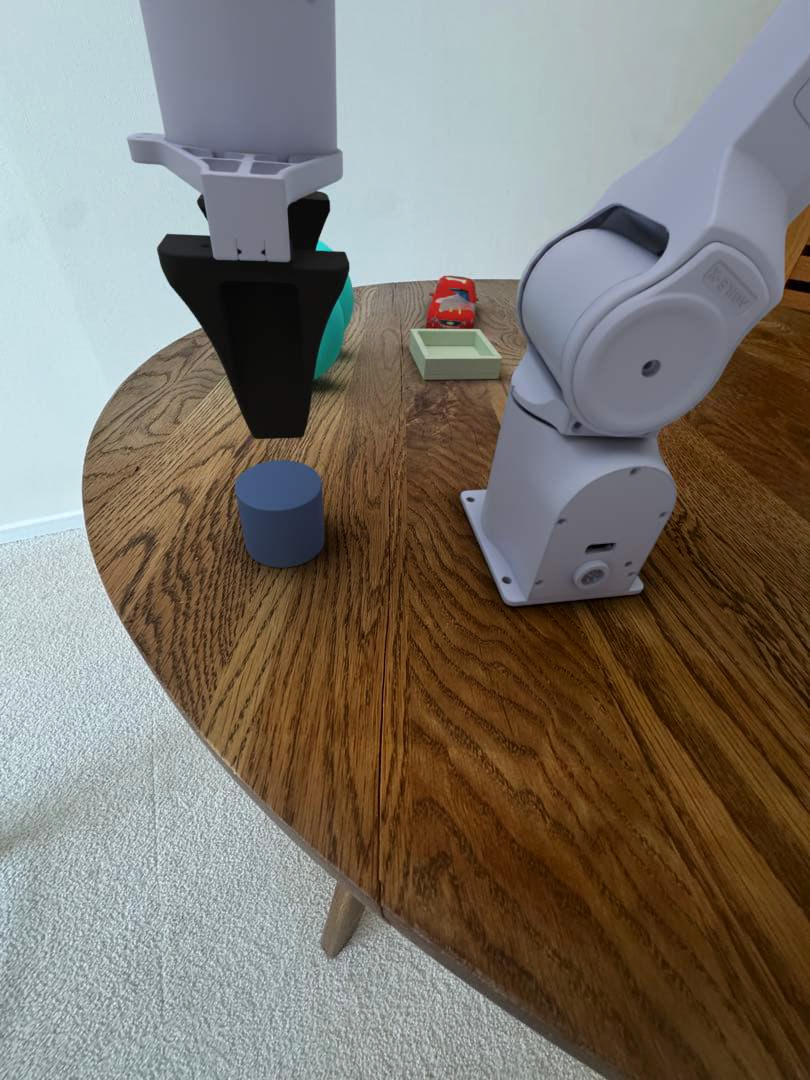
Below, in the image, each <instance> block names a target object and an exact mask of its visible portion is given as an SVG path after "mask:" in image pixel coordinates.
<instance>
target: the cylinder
mask: <svg viewBox="0 0 810 1080" xmlns="http://www.w3.org/2000/svg"><path fill="white" fill-rule="evenodd" d="M234 493H235V499H236V504H237V509H238V515H239V519H240V524H241V529H242V534H243V540H244V544H245V550H246V551H247V554H248V555H249V556H250V557H251V558H252V559H253V560H254V561H255V562H257V563H259V564H260V565H263V566H267V567H269V568H270V567H271V568H279V569H280V568H281V569H283V568H285V569H286V568H293V567H297V566H300V565H303V564H306V563H307V562H310V561H311V560H312V559H314V558H316V556H318V554H320V552H321V551H322V549H323V547H324V545H325V542H326V541H325V540H326V539H325V538H326V537H325V521H324V520H325V516H324V515H325V514H324V497H323V496H324V495H323V494H324V493H323V480H322V478H321V476H320V474H319V473H318V472H317V471H316V469H314V468H313V467H312V466H309V465H308V464H305V463H302V462H300V461H299V462H298V461H294V460H284V459H283V460H282V459H281V460H280V459H279V460H270V461H264V462H261V463H258V464H255V465H253V466H251V467H249V468H247V469H246V470H244V471H243V472H242V473H241V474H240V475H239V476H238V478H237V479H236V481H235V484H234Z"/></svg>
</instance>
